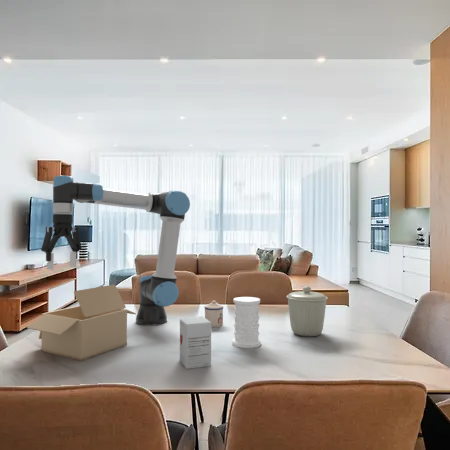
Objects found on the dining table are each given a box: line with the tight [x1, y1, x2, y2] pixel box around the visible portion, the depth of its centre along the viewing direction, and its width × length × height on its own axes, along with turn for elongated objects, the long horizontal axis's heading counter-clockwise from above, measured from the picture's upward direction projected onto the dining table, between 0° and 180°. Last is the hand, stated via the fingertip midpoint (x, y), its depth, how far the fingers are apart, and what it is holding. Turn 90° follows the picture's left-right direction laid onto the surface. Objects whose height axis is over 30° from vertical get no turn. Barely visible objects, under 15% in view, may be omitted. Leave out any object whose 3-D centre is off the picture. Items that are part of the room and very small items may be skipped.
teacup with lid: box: [204, 300, 224, 328], centre depth 186 cm, size 12×9×12 cm
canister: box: [286, 285, 329, 337], centre depth 170 cm, size 18×18×21 cm
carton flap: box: [73, 284, 127, 318], centre depth 144 cm, size 1×20×10 cm
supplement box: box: [179, 316, 212, 370], centre depth 132 cm, size 9×9×15 cm
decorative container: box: [231, 296, 262, 349], centre depth 155 cm, size 12×12×18 cm
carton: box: [26, 305, 137, 362], centre depth 149 cm, size 26×37×14 cm
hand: (62, 268), depth 156 cm, fingers open, 10 cm apart
